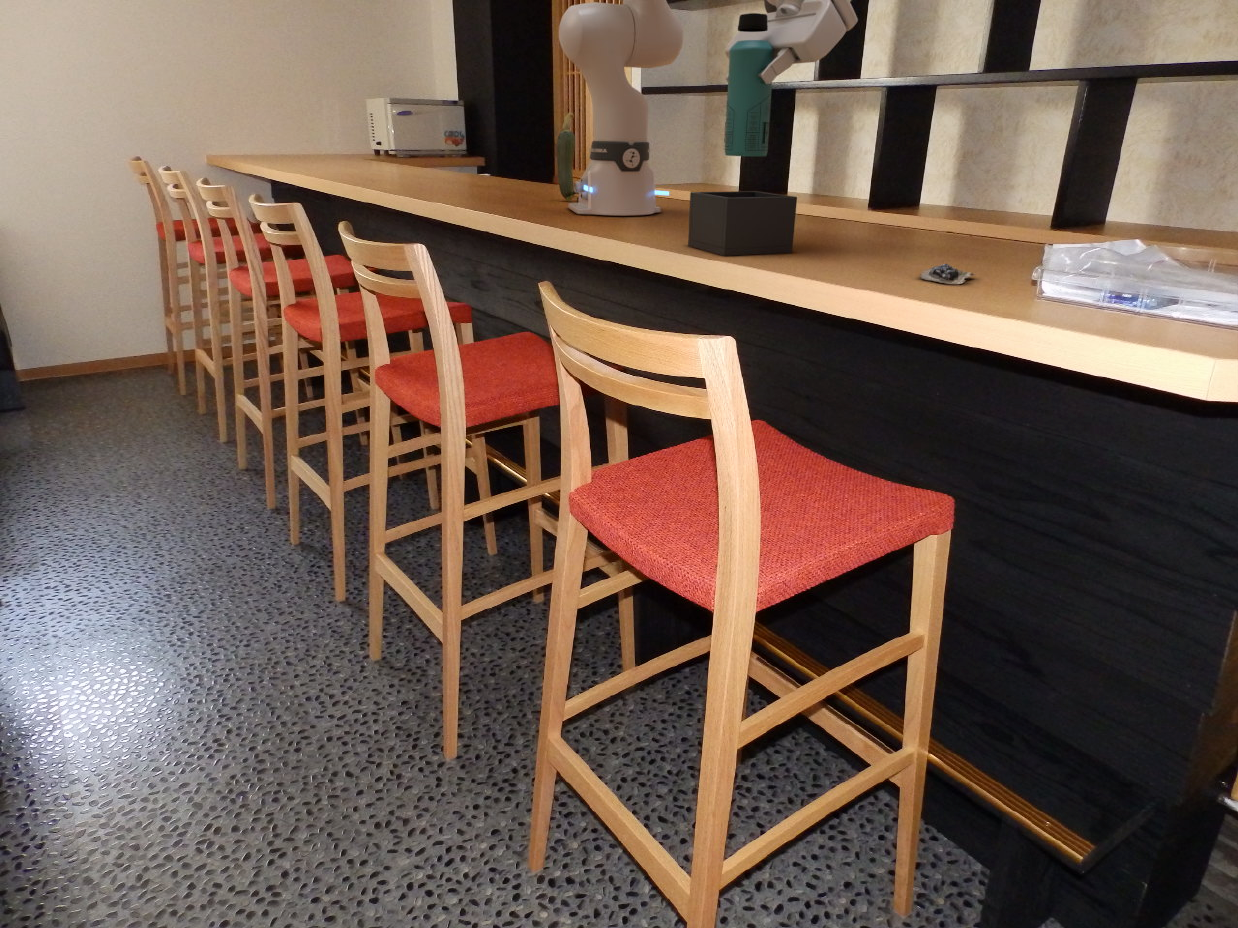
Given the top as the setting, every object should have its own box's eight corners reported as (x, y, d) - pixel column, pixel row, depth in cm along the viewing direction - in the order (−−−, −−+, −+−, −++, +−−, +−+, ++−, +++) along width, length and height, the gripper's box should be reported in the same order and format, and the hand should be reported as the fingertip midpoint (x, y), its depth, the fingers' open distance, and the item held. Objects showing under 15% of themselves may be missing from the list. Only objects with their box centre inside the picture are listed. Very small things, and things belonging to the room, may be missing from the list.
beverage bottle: (766, 167, 120) (777, 10, 113) (720, 166, 122) (728, 11, 114) (768, 165, 126) (779, 16, 119) (724, 165, 127) (732, 16, 120)
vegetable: (555, 202, 202) (554, 111, 194) (559, 200, 206) (558, 112, 198) (573, 202, 201) (573, 112, 194) (577, 201, 205) (577, 112, 198)
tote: (687, 245, 131) (690, 192, 128) (752, 243, 135) (755, 191, 132) (724, 256, 121) (727, 198, 118) (792, 252, 125) (797, 197, 122)
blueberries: (971, 275, 108) (974, 260, 107) (982, 286, 101) (984, 270, 100) (916, 273, 109) (918, 258, 109) (923, 283, 102) (925, 267, 101)
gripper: (752, -2, 127) (694, 67, 126) (845, -20, 110) (778, 59, 109) (774, 33, 130) (717, 100, 130) (866, 20, 113) (802, 97, 113)
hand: (746, 81), depth 119 cm, fingers closed on beverage bottle, 6 cm apart
